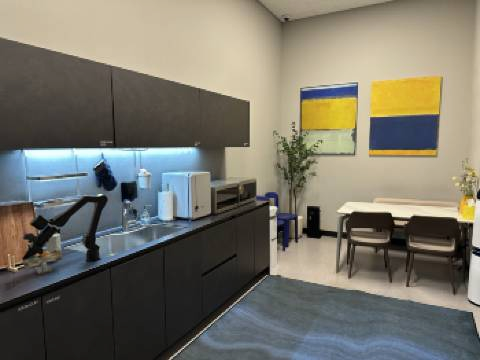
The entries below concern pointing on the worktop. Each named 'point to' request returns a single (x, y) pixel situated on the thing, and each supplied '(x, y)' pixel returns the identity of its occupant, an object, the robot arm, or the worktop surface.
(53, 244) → the skincare box
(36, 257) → the lever
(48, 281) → the worktop surface
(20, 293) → the worktop surface
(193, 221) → the worktop surface
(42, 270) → the pivot stand
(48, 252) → the ball
